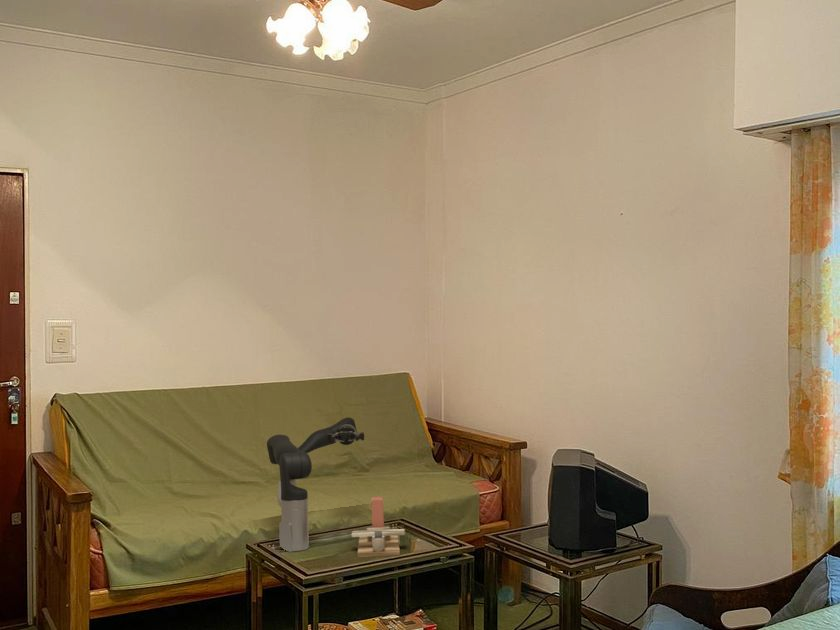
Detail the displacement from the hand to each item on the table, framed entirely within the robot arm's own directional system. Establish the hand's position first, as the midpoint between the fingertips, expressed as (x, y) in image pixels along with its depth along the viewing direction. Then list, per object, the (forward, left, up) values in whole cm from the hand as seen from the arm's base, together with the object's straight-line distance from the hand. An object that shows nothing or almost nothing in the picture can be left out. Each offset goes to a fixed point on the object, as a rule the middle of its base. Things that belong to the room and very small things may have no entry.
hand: (345, 438), depth 322 cm
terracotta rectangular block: (-3, -21, -34) cm, 40 cm away
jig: (-9, -28, -35) cm, 46 cm away
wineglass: (-19, +12, -35) cm, 42 cm away
